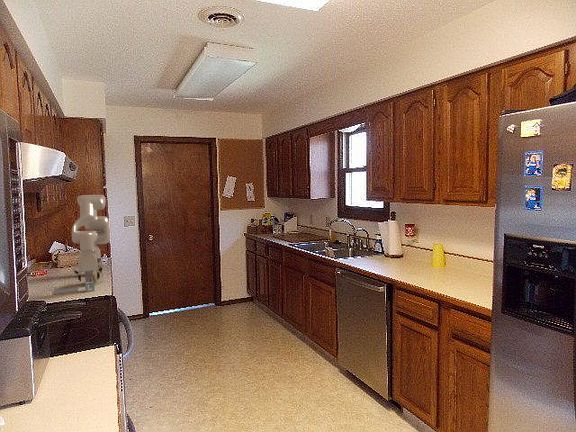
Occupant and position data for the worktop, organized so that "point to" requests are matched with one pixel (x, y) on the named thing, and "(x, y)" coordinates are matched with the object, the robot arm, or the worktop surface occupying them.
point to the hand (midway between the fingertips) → (89, 280)
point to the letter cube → (89, 286)
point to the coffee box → (94, 274)
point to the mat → (65, 290)
